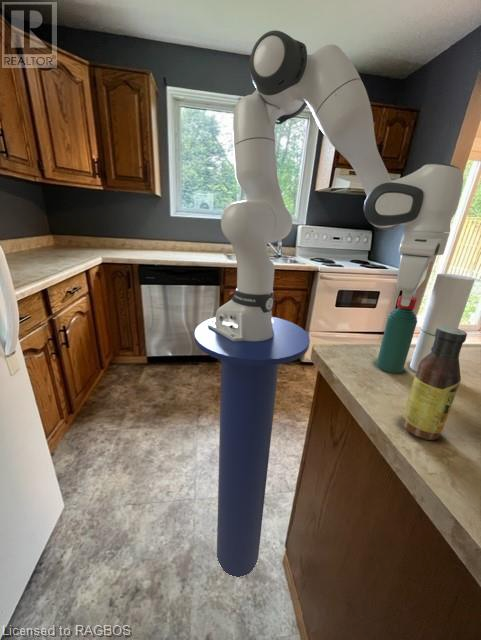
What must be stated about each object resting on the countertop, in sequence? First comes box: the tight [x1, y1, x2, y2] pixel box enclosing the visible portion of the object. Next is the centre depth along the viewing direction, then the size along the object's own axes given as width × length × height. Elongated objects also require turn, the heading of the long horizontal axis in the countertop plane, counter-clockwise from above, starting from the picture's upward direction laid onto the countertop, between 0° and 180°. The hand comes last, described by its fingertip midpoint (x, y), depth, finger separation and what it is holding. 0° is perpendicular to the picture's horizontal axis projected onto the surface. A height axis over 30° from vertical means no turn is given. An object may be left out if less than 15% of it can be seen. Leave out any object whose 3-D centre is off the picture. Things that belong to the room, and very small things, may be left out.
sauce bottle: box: [402, 326, 468, 441], centre depth 47 cm, size 6×6×20 cm
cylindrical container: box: [409, 273, 476, 373], centre depth 68 cm, size 7×7×25 cm
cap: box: [396, 295, 418, 310], centre depth 66 cm, size 4×4×2 cm
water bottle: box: [375, 306, 418, 374], centre depth 69 cm, size 6×6×19 cm
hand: (406, 303), depth 66 cm, fingers closed on cap, 4 cm apart
